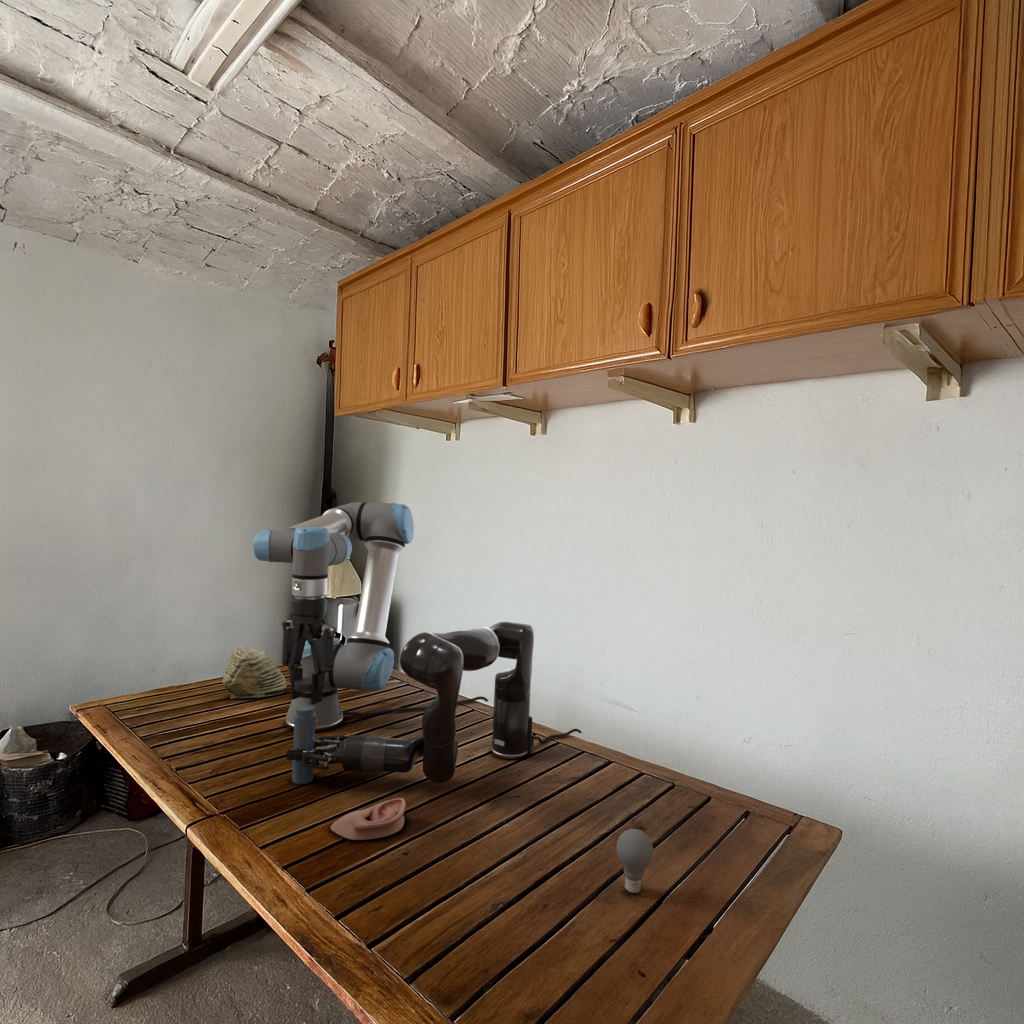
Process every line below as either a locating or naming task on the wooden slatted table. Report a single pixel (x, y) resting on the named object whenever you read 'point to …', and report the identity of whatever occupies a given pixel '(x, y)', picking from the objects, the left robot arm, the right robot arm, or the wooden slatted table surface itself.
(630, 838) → the light bulb
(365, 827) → the anatomical model
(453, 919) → the wooden slatted table surface
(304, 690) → the lid
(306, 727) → the jar
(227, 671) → the fossil
